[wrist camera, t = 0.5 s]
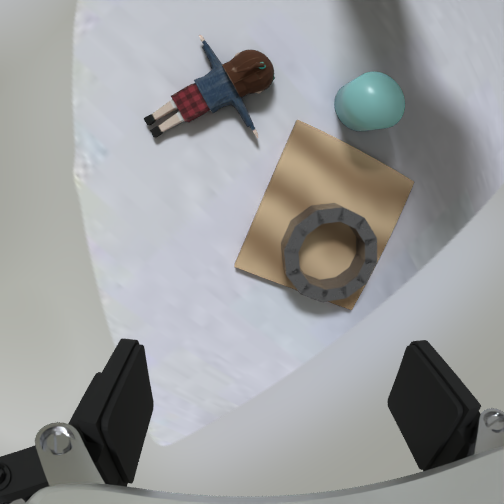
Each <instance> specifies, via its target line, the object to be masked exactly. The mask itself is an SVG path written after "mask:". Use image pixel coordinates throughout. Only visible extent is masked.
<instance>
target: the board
mask: <svg viewBox="0 0 504 504" xmlns="http://www.w3.org/2000/svg"><path fill="white" fill-rule="evenodd" d="M413 184H414V181H412V180H410V179H409V178H407V177H405V176H404V175H402V174H400V173H399V172H397V171H395V170H394V169H392V168H390V167H389V166H387V165H385V164H383V163H382V162H380V161H378V160H376V159H375V158H373V157H371V156H369V155H367V154H365V153H364V152H362V151H360V150H358V149H356V148H354V147H352V146H351V145H349V144H347V143H345V142H343V141H341V140H339V139H337V138H335V137H333V136H331V135H329V134H327V133H325V132H323V131H321V130H319V129H317V128H314V127H312V126H310V125H308V124H306V123H304V122H302V121H299V120H297V121H296V122H295V125H294V127H293V129H292V132H291V134H290V136H289V138H288V141H287V143H286V145H285V148H284V150H283V152H282V155H281V157H280V159H279V161H278V164H277V166H276V168H275V171H274V173H273V175H272V178H271V180H270V182H269V185H268V187H267V189H266V192H265V194H264V196H263V199H262V201H261V203H260V206H259V208H258V210H257V213H256V215H255V217H254V220H253V222H252V224H251V227H250V229H249V231H248V234H247V236H246V238H245V241H244V243H243V245H242V248H241V250H240V252H239V255H238V257H237V260H236V262H235V267H236V268H239V269H242V270H244V271H247V272H250V273H252V274H255V275H258V276H260V277H263V278H266V279H268V280H271V281H274V282H276V283H279V284H282V285H284V286H287V287H290V288H292V289H295V290H297V288H296V287H295V286H294V285H293V283H292V282H291V281H290V280H289V278H288V277H287V276H286V273H285V270H284V268H283V261H282V252H281V241H282V239H283V236H284V234H285V232H286V230H287V228H288V225H289V223H290V221H291V220H292V219H293V218H295V217H296V216H297V215H299V214H300V213H301V212H303V211H304V210H305V209H307V208H308V207H310V206H311V205H320V204H329V203H336V204H338V205H341V206H343V207H345V208H347V209H349V210H351V211H353V212H355V213H357V214H359V215H361V216H362V217H364V218H365V219H366V221H367V222H368V224H369V225H370V227H371V229H372V230H373V232H374V234H375V235H376V237H377V262H378V260H379V258H380V256H381V254H382V252H383V250H384V248H385V246H386V244H387V242H388V240H389V238H390V235H391V233H392V231H393V229H394V227H395V225H396V223H397V220H398V218H399V216H400V214H401V212H402V209H403V207H404V205H405V203H406V200H407V198H408V196H409V193H410V191H411V189H412V186H413ZM298 253H299V265H300V268H301V269H302V271H303V272H304V273H305V274H307V275H309V276H312V277H314V278H317V279H319V280H320V279H327V278H333V277H337V276H338V275H339V274H341V273H342V272H343V271H345V270H346V269H347V268H349V266H350V264H351V262H352V260H353V258H354V256H355V254H356V236H355V234H354V233H353V231H352V230H351V228H350V226H348V225H346V224H344V223H342V222H333V223H325V224H321V225H320V226H318V227H317V228H316V229H314V230H313V231H312V232H310V233H309V234H308V235H306V237H305V240H304V242H303V244H302V246H301V248H300V250H299V252H298ZM373 270H374V269H373ZM372 272H373V271H372ZM371 274H372V273H371ZM365 285H366V284H365ZM365 285H364V286H362V287H361V288H360V289H358V290H357V291H356V292H354V293H353V294H352V295H350V296H349V297H347V298H345V299H339V300H333V301H328V302H331V303H333V304H336V305H339V306H342V307H344V308H347V309H350V310H352V309H353V307H354V305H355V303H356V301H357V300H358V298H359V296H360V294H361V292H362V291H363V289H364V287H365Z"/></svg>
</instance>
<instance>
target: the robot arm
mask: <svg viewBox="0 0 504 504" xmlns="http://www.w3.org/2000/svg"><path fill="white" fill-rule="evenodd" d="M388 407H389V409H390V411H391V413H392V415H393V417H394V419H395V421H396V423H397V425H398V427H399V429H400V431H401V433H402V435H403V437H404V439H405V441H406V443H407V445H408V447H409V449H410V451H411V453H412V455H413V457H414V459H415V461H416V463H417V465H418V467H419V469H421V470H423V472H420V473H416V474H413V475H409V476H406V477H401V478H397V479H393V480H389V481H385V482H380V483H375V484H370V485H365V486H360V487H354V488H349V489H342V490H335V491H327V492H319V493H310V494H300V495H287V496H286V495H285V496H264V497H263V496H262V497H230V496H229V497H228V496H207V495H193V494H180V493H170V492H162V491H153V490H147V489H140V488H131V487H127V484H128V483H133V480H134V477H135V473H136V469H137V465H138V462H139V458H140V454H141V451H142V447H143V443H144V440H145V436H146V433H147V429H148V426H149V422H150V419H151V415H152V412H153V397H152V392H151V386H150V380H149V375H148V369H147V362H146V356H145V349H144V346H143V345H139V342H138V340H131V339H121V340H120V341H119V343H118V345H117V347H116V348H115V350H114V352H113V354H112V356H111V357H110V359H109V361H108V363H107V364H106V366H105V368H104V370H103V372H102V373H101V372H98V373H96V375H95V376H94V378H93V380H92V381H91V383H90V385H89V387H88V388H87V390H86V392H85V394H84V396H83V397H82V399H81V401H80V403H79V405H78V407H77V409H76V410H75V412H74V414H73V416H72V418H71V420H70V422H69V424H66V423H60V422H59V423H58V422H57V423H51V424H49V425H46V426H44V427H43V428H42V429H40V430H39V432H38V433H37V435H36V438H35V446H32V447H30V448H27V449H24V450H20V451H17V452H14V453H11V454H8V455H5V456H1V457H0V504H504V412H503V411H501V410H498V409H494V408H491V409H486V410H484V411H483V412H482V413H481V414H480V412H479V409H480V407H481V405H480V403H479V402H478V401H477V400H476V398H475V397H474V396H473V395H472V393H471V392H470V391H469V390H468V389H467V387H466V386H465V385H464V384H463V383H462V381H461V380H460V379H459V378H458V376H457V375H456V374H455V373H454V372H453V370H452V369H451V368H450V367H449V366H448V364H447V363H446V362H445V361H444V360H443V359H442V357H441V356H440V355H439V354H438V353H437V352H436V350H435V349H434V348H433V347H432V346H431V345H430V343H429V342H428V341H426V340H422V341H413V342H411V344H410V345H409V346H407V348H406V350H405V353H404V356H403V359H402V362H401V365H400V368H399V371H398V374H397V376H396V379H395V382H394V385H393V387H392V390H391V392H390V395H389V398H388Z"/></svg>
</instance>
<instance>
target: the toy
mask: <svg viewBox="0 0 504 504" xmlns="http://www.w3.org/2000/svg"><path fill="white" fill-rule="evenodd" d="M199 36H200V39H201V41H202V43H203V44H204V46H203V49H204V51H205V53H206V55H207V57H208V59H209V61H210V62H211V66H212V70H211V71H210V72H209V73H208V74H207V75H205V76H204V77H201V78H198V79H195V80H194V81H195V83H194V84H191V85H189V86H187V87H185V88H184V89H182V90H180V91H179V92H177V93H175V94H174V95H172V96H171V97H172V100H171V101H169V102H168V103H166V104H165V105H164V106H162V107H161V108H160V109H158V110H157V111H156V112H154V113H153V114H151V115H149V116H147V117H145V118H144V120H145V122H146V124H147V125H151V124H153V123H155V121H156V120H158V119H160V118H162V117H163V116H165V115H167V114H169V113H171V112H173V111H175V110H176V109H178V110H179V112H178V113H176V114H175V115H174V116H172V117H171V118H169V119H168V120H166V121H165V122H163V123H162V124H161V125H159V126H157V127H155V128H153V129H151V130H150V131H151V133H152V135H153V137H158V136H159V135H161V134H162V133H163V132H164V131H166V130H168V129H170V128H172V127H174V126H176V125H178V124H180V123H182V122H184V121H185V122H190V121H192V120H194V119H196V118H198V117H199V116H201V115H203V114H205V113H206V112H208V111H209V110H211V111H212V112H213V113H214V112H216V111H217V110H218V109H220V108H221V107H224V106H227V105H231V104H232V105H233V106H234V107H235V108H236V109H237V110H238V112H239V114H240V115H241V117H242V119H243V120H244V122H245V124H246V125H247V127H249V126H250V128H251V129H252V131H253V133H254V134H255V135H256V137H257V138H258V133H257V131H256V129H255V127H254V125H253V122H252V120H251V118H250V116H249V114H248V111H247V109H246V107H245V105H244V103H243V100H242V97H243V96H245V95H247V94H249V93H261V92H262V91H263V90H265V89H267V88H268V87H269V86H270V85H271V83H272V81H273V80H274V79H275V77H274V69H273V65H272V63H271V61H270V60H269V59H268V57H267V56H265V55H264V54H263V53H261V52H259V51H256V50H245V51H242V52H240V53H237V54H236V55H235V57H234V58H233V59H232V60H231V61H229V62H227V63H225V64H223V65H222V64H221V62H220V61H219V59H218V58H217V57H216V55H215V54H214V52H213V51H212V49H211V48H210V47H209V45H208V44H207V43H206V41H205V39H204V38H203V37H202V36H201V35H199Z"/></svg>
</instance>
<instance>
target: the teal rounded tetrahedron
mask: <svg viewBox="0 0 504 504" xmlns="http://www.w3.org/2000/svg"><path fill="white" fill-rule="evenodd" d="M334 105H335V111H336V114H337V116H338V118H339V119H340V121H341V122H342V123H343V124H344V125H345V126H347V127H348V128H350V129H352V130H355V131H369V130H376V129H383V128H389V127H392V126H394V125H395V124H397V123H398V122H399V121H400V119H401V118H402V116H403V113H404V109H405V100H404V95H403V93H402V90H401V89H400V87H399V85H398V84H397V83H396V82H395V81H394V80H393V79H392V78H391V77H389V76H388V75H386V74H383V73H380V72H367V73H365V74H363V75H361V76H359V77H358V78H356V79H354V80H353V81H351V82H349V83H348V84H346V85H344V86H343V87H342V88H341V89H340V90H339V91H338V92H337V94H336V97H335V103H334Z"/></svg>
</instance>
